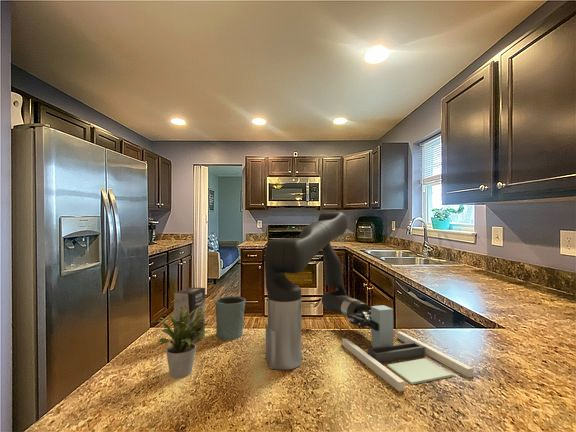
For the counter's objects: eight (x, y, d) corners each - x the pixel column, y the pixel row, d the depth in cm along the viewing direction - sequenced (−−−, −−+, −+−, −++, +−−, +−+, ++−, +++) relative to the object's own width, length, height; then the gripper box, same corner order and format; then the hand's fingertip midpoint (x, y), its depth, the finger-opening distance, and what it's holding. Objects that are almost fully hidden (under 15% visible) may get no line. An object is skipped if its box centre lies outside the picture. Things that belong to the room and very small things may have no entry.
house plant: (170, 399, 60) (171, 321, 61) (133, 381, 68) (135, 311, 68) (219, 370, 72) (220, 305, 73) (184, 357, 80) (184, 298, 80)
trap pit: (376, 364, 76) (376, 354, 76) (367, 357, 80) (367, 348, 80) (424, 356, 81) (424, 347, 81) (414, 350, 85) (414, 341, 85)
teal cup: (219, 329, 102) (219, 295, 102) (247, 330, 101) (247, 296, 102) (210, 341, 92) (211, 303, 92) (242, 341, 91) (242, 303, 92)
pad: (411, 384, 66) (411, 382, 66) (387, 366, 75) (387, 364, 75) (452, 376, 70) (452, 374, 70) (424, 360, 78) (424, 358, 78)
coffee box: (191, 346, 88) (191, 293, 88) (172, 344, 89) (173, 292, 89) (205, 335, 96) (206, 287, 97) (188, 334, 98) (188, 286, 98)
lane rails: (399, 391, 63) (398, 382, 63) (342, 345, 88) (342, 338, 88) (472, 376, 70) (472, 368, 70) (400, 337, 94) (400, 331, 94)
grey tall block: (380, 351, 84) (379, 310, 84) (371, 345, 88) (370, 306, 88) (393, 349, 85) (393, 309, 85) (384, 343, 89) (383, 305, 90)
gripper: (337, 301, 99) (364, 316, 83) (372, 298, 104) (405, 311, 87) (337, 323, 99) (365, 342, 83) (373, 319, 103) (405, 336, 87)
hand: (385, 326), depth 85 cm, fingers closed on grey tall block, 4 cm apart
